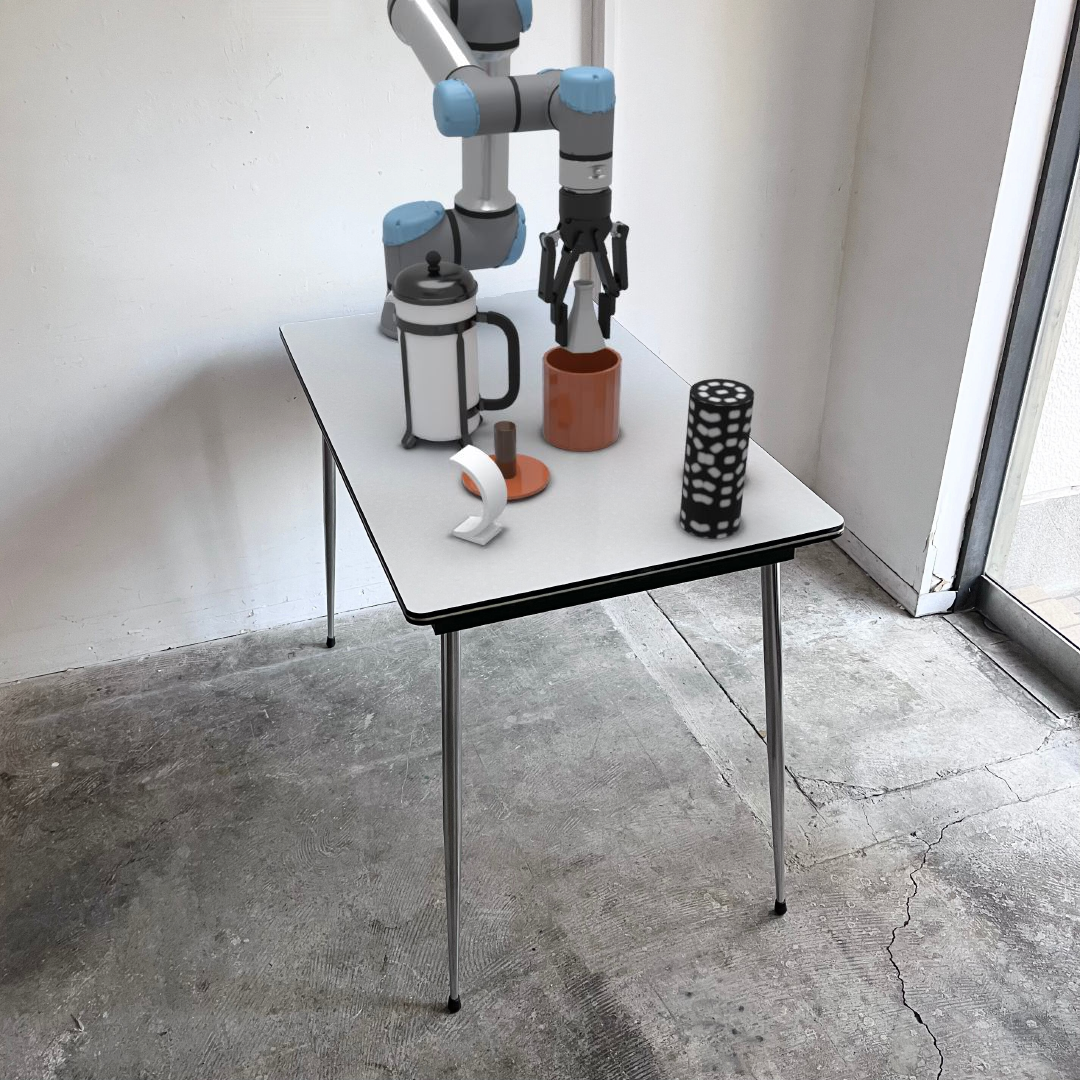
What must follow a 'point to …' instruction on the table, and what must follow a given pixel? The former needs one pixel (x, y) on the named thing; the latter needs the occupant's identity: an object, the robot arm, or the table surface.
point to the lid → (513, 465)
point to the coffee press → (444, 351)
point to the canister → (581, 398)
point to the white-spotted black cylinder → (715, 457)
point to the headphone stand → (490, 490)
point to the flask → (583, 321)
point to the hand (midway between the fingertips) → (582, 339)
